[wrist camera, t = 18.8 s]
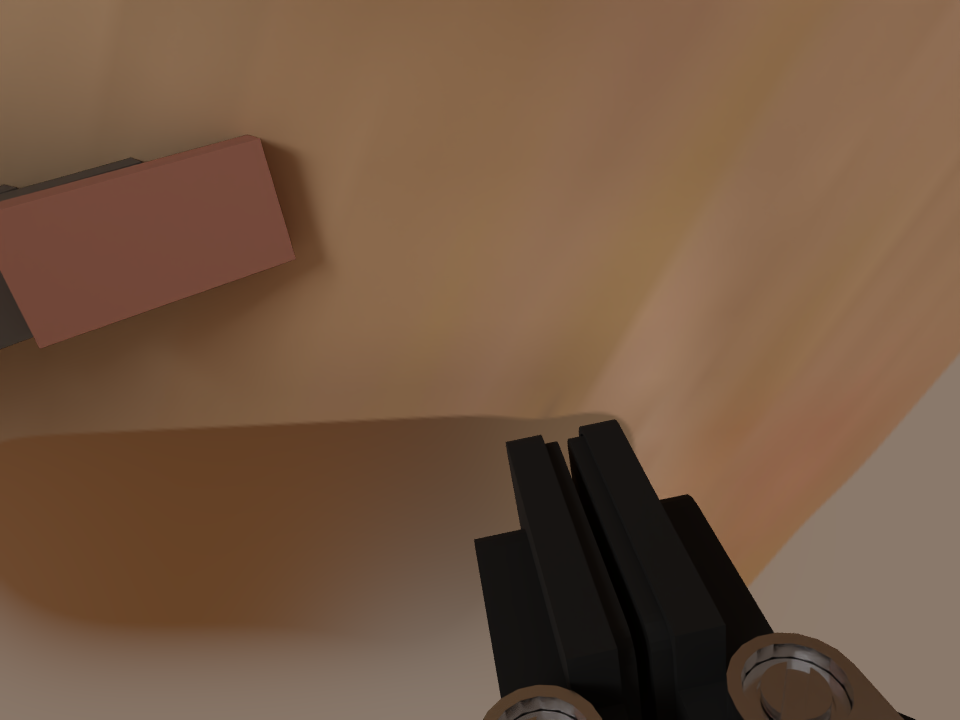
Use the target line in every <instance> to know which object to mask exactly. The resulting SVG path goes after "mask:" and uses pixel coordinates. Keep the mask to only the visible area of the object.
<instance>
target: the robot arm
mask: <svg viewBox="0 0 960 720" xmlns="http://www.w3.org/2000/svg"><path fill="white" fill-rule="evenodd" d="M506 447H507V454H508V460H509V465H510V471H511V476H512V482H513V488H514V493H515V499H516V504H517V510H518V515H519V520H520V526H521V530H517V531H512V532H507V533H503V534H498V535H493V536H489V537H484V538H479V539H475V540H474V542H475V549H476V555H477V561H478V566H479V572H480V578H481V584H482V590H483V596H484V601H485V607H486V613H487V619H488V625H489V631H490V636H491V642H492V648H493V654H494V660H495V666H496V671H497V677H498V683H499V689H500V695H501V699H500V700H499V701H498V702H497V703H496V704H495V705H494V706H493V707H492V708H491V709H490V710H489V711H488V712H487V714H486V715H485V717H484V719H483V720H915V719H913V718H910V717H908V716H906V715H903V714H901V713H899V712H897V711H896V710H895V709H894V708H893V707H892V706H891V705H890V704H889V702H888V701H887V700H886V699H885V698H884V697H883V696H882V695H881V694H880V692H879V691H878V690H877V689H876V688H875V687H874V686H873V685H872V683H871V682H870V681H869V680H868V679H867V678H866V677H865V676H864V675H863V673H862V672H861V671H860V670H859V669H858V668H857V667H856V666H855V665H854V664H853V663H852V662H851V661H850V660H849V659H848V658H847V657H845V656H844V655H843V654H842V653H841V652H839V651H838V650H837V649H835V648H833V647H831V646H829V645H828V644H825V643H824V642H822V641H820V640H818V639H815V638H811V637H807V636H804V635H800V634H794V633H774V632H773V630H772V629H771V627H770V625H769V624H768V622H767V620H766V619H765V617H764V615H763V614H762V612H761V610H760V609H759V607H758V605H757V604H756V602H755V600H754V598H753V597H752V595H751V594H750V592H749V590H748V588H747V587H746V585H745V583H744V582H743V580H742V578H741V577H740V575H739V573H738V572H737V570H736V568H735V567H734V565H733V563H732V562H731V560H730V558H729V557H728V555H727V553H726V552H725V550H724V548H723V547H722V545H721V543H720V542H719V540H718V538H717V537H716V535H715V533H714V532H713V530H712V528H711V527H710V525H709V523H708V522H707V520H706V518H705V517H704V515H703V513H702V512H701V510H700V508H699V506H698V505H697V503H696V502H695V501H694V499H693V498H692V497H691V496H690V495H688V494H686V495H681V496H677V497H672V498H667V499H662V500H659V498H658V497H657V495H656V493H655V491H654V489H653V487H652V485H651V483H650V481H649V480H648V478H647V476H646V474H645V472H644V470H643V468H642V466H641V465H640V463H639V461H638V459H637V457H636V455H635V453H634V451H633V450H632V448H631V446H630V444H629V442H628V440H627V438H626V436H625V435H624V433H623V431H622V429H621V427H620V425H619V423H618V422H617V421H616V420H615V419H614V420H609V421H604V422H600V423H595V424H590V425H585V426H580V427H579V437H575V438H570V439H568V451H569V459H570V467H571V474H572V478H571V475H570V473H569V470H568V467H567V465H566V462H565V459H564V457H563V454H562V452H561V450H560V446H559V444H558V442H551V443H547V444H545V443H544V440H543V438H542V436H541V435H537V436H533V437H528V438H523V439H518V440H514V441H509V442H506Z"/></svg>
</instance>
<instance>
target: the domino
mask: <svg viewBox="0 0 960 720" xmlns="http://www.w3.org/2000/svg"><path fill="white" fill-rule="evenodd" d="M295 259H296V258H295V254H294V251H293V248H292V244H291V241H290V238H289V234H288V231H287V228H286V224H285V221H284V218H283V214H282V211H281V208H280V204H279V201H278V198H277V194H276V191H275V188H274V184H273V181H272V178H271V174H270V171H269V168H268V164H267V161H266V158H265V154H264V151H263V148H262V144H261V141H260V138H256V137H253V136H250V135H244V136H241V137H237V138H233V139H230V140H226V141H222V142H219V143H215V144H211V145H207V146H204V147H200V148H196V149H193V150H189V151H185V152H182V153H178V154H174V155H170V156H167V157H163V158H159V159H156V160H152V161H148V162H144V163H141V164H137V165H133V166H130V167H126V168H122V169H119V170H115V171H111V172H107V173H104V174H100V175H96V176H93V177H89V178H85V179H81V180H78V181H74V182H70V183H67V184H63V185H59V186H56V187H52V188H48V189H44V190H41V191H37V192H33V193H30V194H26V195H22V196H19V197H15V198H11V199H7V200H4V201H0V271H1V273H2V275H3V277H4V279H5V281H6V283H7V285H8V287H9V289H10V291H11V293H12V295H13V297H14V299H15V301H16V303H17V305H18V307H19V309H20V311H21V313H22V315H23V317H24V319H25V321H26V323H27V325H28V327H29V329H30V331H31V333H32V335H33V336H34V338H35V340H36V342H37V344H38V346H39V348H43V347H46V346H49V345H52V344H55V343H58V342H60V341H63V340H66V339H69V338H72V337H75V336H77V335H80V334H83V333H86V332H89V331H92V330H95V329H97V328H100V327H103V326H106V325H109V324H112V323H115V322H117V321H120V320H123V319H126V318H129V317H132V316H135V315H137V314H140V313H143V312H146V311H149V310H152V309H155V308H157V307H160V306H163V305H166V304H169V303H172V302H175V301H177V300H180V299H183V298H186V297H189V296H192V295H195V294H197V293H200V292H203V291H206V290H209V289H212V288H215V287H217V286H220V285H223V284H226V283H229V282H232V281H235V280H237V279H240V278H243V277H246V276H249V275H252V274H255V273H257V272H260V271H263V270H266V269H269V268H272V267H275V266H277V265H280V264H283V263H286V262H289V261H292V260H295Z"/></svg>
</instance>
